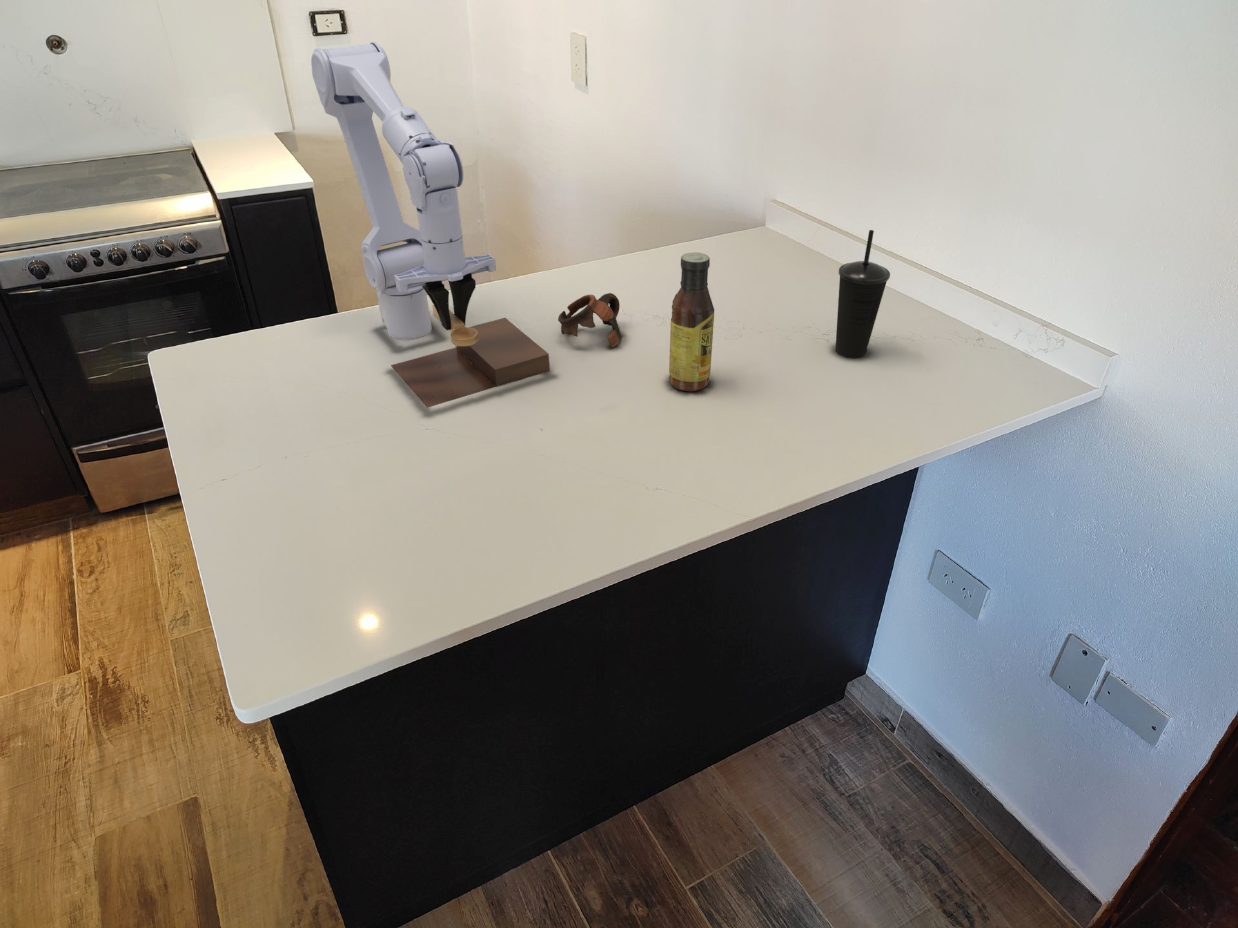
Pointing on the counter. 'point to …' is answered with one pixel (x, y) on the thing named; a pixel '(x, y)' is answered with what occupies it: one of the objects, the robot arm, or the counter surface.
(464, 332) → the spoon
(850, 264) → the drinking cup
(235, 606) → the counter surface
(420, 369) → the step shelf
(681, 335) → the sauce bottle
